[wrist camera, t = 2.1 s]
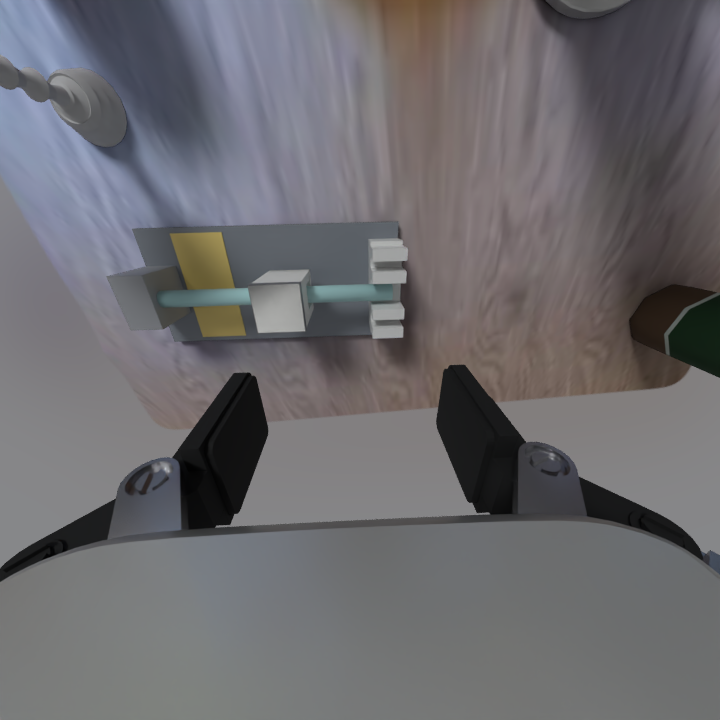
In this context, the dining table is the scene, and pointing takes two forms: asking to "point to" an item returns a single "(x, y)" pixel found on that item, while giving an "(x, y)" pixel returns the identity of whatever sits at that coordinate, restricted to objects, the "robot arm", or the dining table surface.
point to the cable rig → (252, 260)
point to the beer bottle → (681, 325)
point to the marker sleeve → (281, 301)
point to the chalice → (73, 100)
